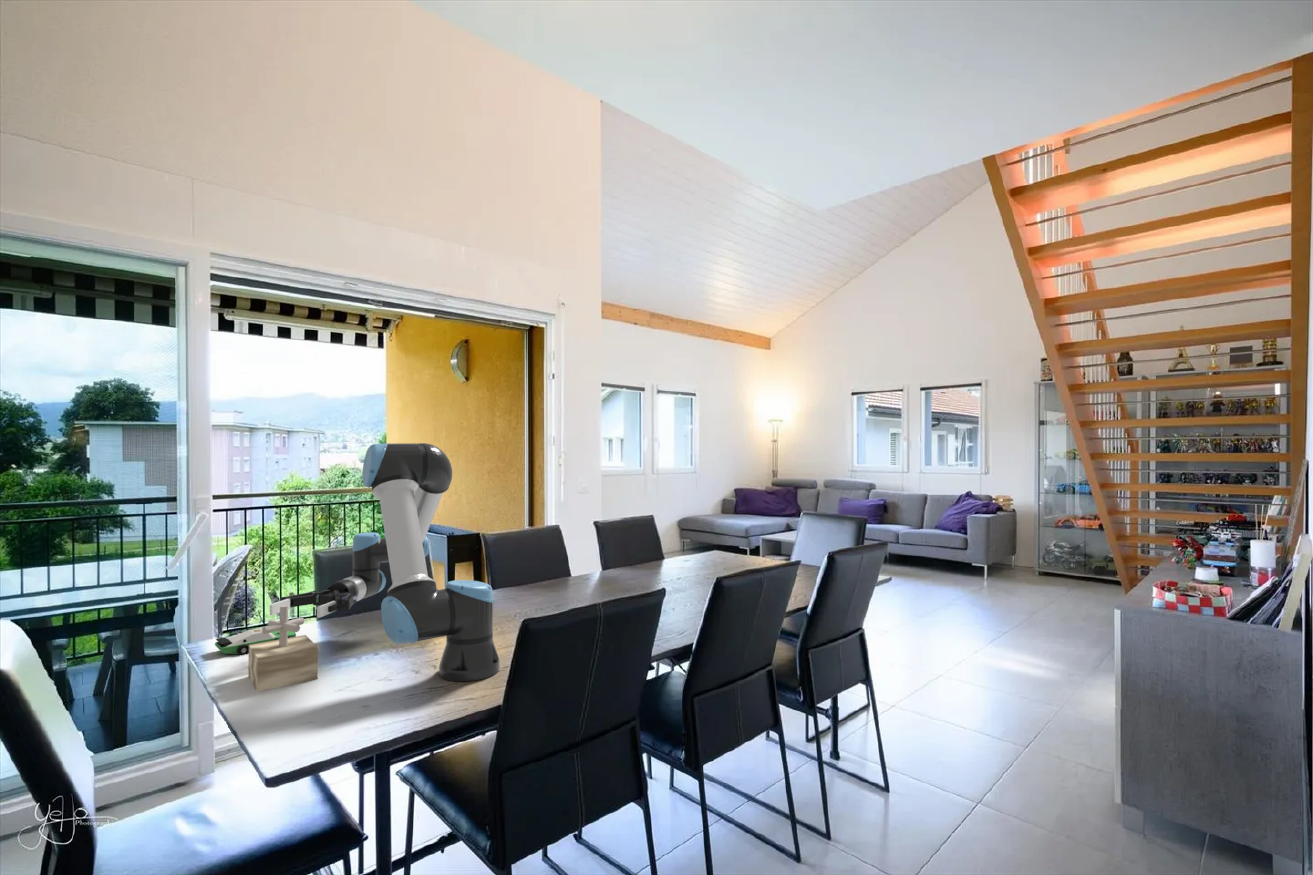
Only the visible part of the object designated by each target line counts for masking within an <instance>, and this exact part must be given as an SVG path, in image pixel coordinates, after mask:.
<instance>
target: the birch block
mask: <svg viewBox="0 0 1313 875" xmlns="http://www.w3.org/2000/svg"><path fill="white" fill-rule="evenodd" d="M318 669H319V646H317V645H316V643H314V642H313V640H312V639H310V638H309V637H308V636H307V635H306V634H302V635H298V636H297V635H296V637H291V638H288V640H287V646H285V647H279V640H274V641H268V642H263V643H257V644H251V645H249V653H248V678H249V680H250V681H251V683H252V685H253V686H254V689H255V690H256V692H259V693H260V692H264V691H268V690H272V689H278V688H281V687H286V686H291V685H295V684H294V683H296V684H301V683H304V682H310V681H314V680H318V679H319V670H318Z"/></svg>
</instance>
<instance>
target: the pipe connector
mask: <svg viewBox="0 0 1313 875" xmlns="http://www.w3.org/2000/svg"><path fill="white" fill-rule="evenodd" d="M303 624H305V619H304V617H298V618H293V619H291V620H289V609H288V605H283V606H280V613H279V620H274V619H270V620H268V622H267V625H266V626H262V627H261V628H262V632H263V634H267V633H271V632H274V631H278V630H279V647H285V646H287V640H288V631H292V632H295V633H298V632H299V631H301V630H300V629H301V626H302V625H303Z"/></svg>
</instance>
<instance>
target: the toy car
mask: <svg viewBox="0 0 1313 875" xmlns="http://www.w3.org/2000/svg"><path fill="white" fill-rule="evenodd" d="M262 628H263V627H260V628H252V629H248V630H245V631H243V632H241V633H238V634H236V635H233V636H230V637H228V638H227V637H218V638H215V640H216V642H215V643H214V646H215V647H216V648H217V649H218V650H219V651H220V652H221V653H222V654H232V655H239V656H240V655H241V656H245V654H246V655H249V645H251V644H257V643H263V642H268V641H274V640H279V630H278V631H274V632H271V633H267V634H263V632H262ZM291 637H297V632H292V631H288V638H291Z"/></svg>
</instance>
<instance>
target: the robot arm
mask: <svg viewBox="0 0 1313 875" xmlns="http://www.w3.org/2000/svg"><path fill="white" fill-rule="evenodd" d="M361 477H362V478H361V479H362V484H363V486H364V487H366V488H368V489H369V488H371V491H372V495H373V497H375V498H376V499H378V500H379V504H380V508H381V509H380V510H381V516H382V518H381V519H382V524H383V529H384V536H385V537H380V534H379V533H378V532H373V531H372V532H360V533H357V534H355V535H354V536H353V539H352V575H351V576H348V577H346V578H343V579H341V580H337V581H335V582H333V583H331V584H330V585H329V586H328V588H326V589H325V590H322V591H317V590H313V591H308V592H304V593H298V594H293V595H288V596H282V597H280V600H279V601H277V602H274V603H271V604H269V616H274V615H277V614H280V606H283V605H288V610H291V608H295V607H302V606H310V605H313V606H317V607H316V619H317V618H318V619H319V618H322V617H324V616H327V615H331V614H332V613H335V612H337V611H342V610H343V609H344V611H349V610H350V609H351V608H352V606H353V605H354V604H355V603H357V602H360V601H361V600H364V599H366V598H369V597H372V596H375V595H376V594H378V593H380V592H382V590H383V589H384V588H385V587H386V583H387V579H386V575H385V574H384V572H383V571H382V570H380V564H381V563H382V564H383V563H389V572H390V577H391V583H392V584H391V586H390V587H389V588H388V589H387V591H386V597H384V598H383V600H382V602H381V604H380V611H381V614H380V615H381V622H382V625H383V629H384V632H385V633H386V636H387V637H388V638H389V639H390V641H391V642H392V643H393V644H396V645H405V644H414V643H415V644H416V643H417V642H422V641H426V640H427V641H428V640H432V639H437V638H438V639H439V638H444V637H446V643H445V647H444V649H443V653H442V656H441V659H440V661H439V664H438V665H439V666H438V668H439V669H438V674H439V677H440V678H441V679H444V680H446V681H452V682H473V681H477V680H479V681H480V680H482V679H486V678H490V677H491V676H493V675H495V674H497V673H498V672H499V671H500V665H501V664H500V658H499V655H498V651H497V649H496V645H495V642H494V638H493V636H494V632H493V631H494V592H493V588H492V586H491V585H490V584H488V583H486V582H482V581H479V580H470V579H469V580H467V579H461V580H460V579H457V580H455V579H454V580H451V581H447V583H446V585H445V588H444V589H443V588H442V589H438V588H437V583H436V580H434V579H433V578H431V577H429V575H428V569H427V563H426V561H427V560H426V557H427V556H428V555H429V552H430V551H429V549H430V541H429V538H428V536H427V535H428V531H429V529H430V526H431V524H432V522H433V519H434V517H435V514H436V511H437V509H438V507H439V504H440V501H441V499H442V496H443V494H444V493H446V492H447V491H449V488H450V485H451V483H452V479H453V467H452V463H451V462H450V459H449V457H448V456H447V454H446V453H445V452H444V451H443V450H442V449H441V448H440V447H437V446H436V445H433V444H431V443H426V442H420V443H416V442H415V443H413V442H412V443H409V442H408V443H406V442H405V443H400V442H399V443H388V442H385V443H373V444H371V445H369V447H368V448H367V450H366V453H365V455H364V460H363V466H362V476H361ZM317 600H318V601H317Z"/></svg>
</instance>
